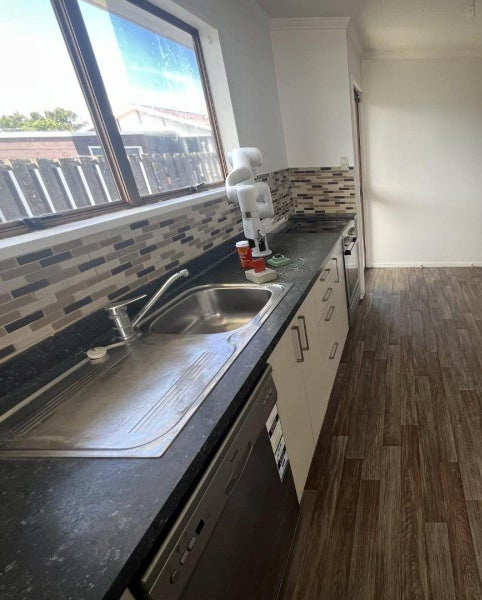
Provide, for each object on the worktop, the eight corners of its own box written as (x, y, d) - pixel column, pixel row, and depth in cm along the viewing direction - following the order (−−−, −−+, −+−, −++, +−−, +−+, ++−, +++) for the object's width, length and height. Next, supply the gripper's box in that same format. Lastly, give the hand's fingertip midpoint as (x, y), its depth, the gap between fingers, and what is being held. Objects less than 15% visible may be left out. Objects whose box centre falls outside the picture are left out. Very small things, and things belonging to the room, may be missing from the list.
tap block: (246, 278, 168) (244, 271, 166) (264, 273, 175) (262, 265, 173) (258, 284, 161) (257, 276, 159) (276, 278, 168) (275, 270, 166)
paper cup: (237, 268, 183) (231, 243, 177) (248, 263, 189) (243, 240, 183) (248, 269, 180) (242, 245, 174) (258, 265, 187) (253, 241, 181)
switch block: (267, 263, 189) (266, 257, 187) (281, 259, 195) (280, 253, 194) (277, 267, 183) (275, 260, 182) (291, 263, 189) (290, 256, 188)
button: (273, 257, 187) (273, 254, 187) (279, 256, 190) (278, 253, 189) (277, 258, 185) (276, 255, 185) (282, 257, 188) (282, 254, 187)
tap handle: (255, 272, 164) (253, 261, 161) (254, 272, 165) (251, 260, 162) (265, 269, 168) (263, 258, 165) (264, 269, 169) (261, 257, 166)
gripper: (233, 213, 157) (241, 248, 164) (252, 217, 147) (259, 254, 154) (248, 211, 162) (255, 245, 169) (267, 215, 152) (274, 250, 159)
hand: (257, 249), depth 162 cm, fingers open, 9 cm apart
